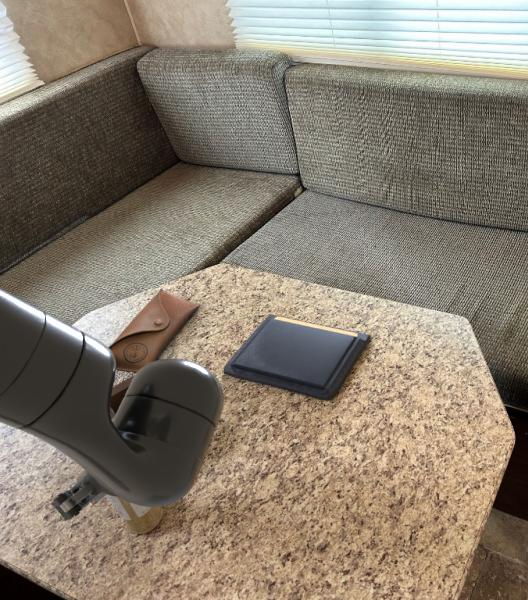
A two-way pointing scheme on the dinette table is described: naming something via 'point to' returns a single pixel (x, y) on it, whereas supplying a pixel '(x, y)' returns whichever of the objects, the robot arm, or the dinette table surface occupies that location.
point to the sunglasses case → (151, 331)
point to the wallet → (298, 356)
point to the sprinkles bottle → (137, 515)
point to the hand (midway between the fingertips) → (113, 468)
